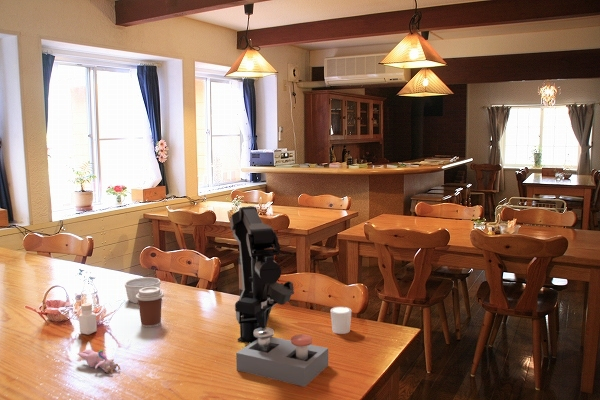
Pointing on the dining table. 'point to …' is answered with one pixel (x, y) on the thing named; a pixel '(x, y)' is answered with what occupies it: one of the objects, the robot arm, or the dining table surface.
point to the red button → (301, 346)
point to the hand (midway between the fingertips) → (263, 327)
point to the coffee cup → (150, 306)
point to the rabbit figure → (99, 360)
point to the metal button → (263, 338)
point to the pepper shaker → (87, 319)
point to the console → (282, 362)
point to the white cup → (341, 319)
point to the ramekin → (139, 286)
